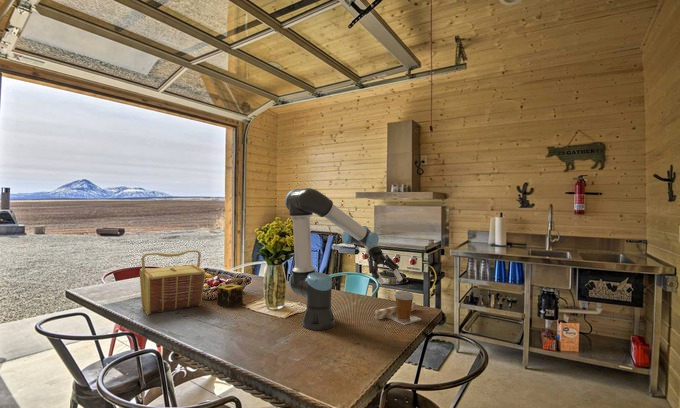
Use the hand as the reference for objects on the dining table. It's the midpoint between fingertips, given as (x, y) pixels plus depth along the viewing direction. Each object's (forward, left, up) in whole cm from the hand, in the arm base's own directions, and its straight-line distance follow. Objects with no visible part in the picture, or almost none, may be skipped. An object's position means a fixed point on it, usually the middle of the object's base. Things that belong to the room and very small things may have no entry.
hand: (391, 281), depth 170 cm
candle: (-65, +62, -17) cm, 92 cm away
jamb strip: (+2, -1, -17) cm, 17 cm away
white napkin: (0, -9, -17) cm, 19 cm away
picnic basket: (-93, +73, -17) cm, 120 cm away
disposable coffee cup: (0, -9, -16) cm, 18 cm away
